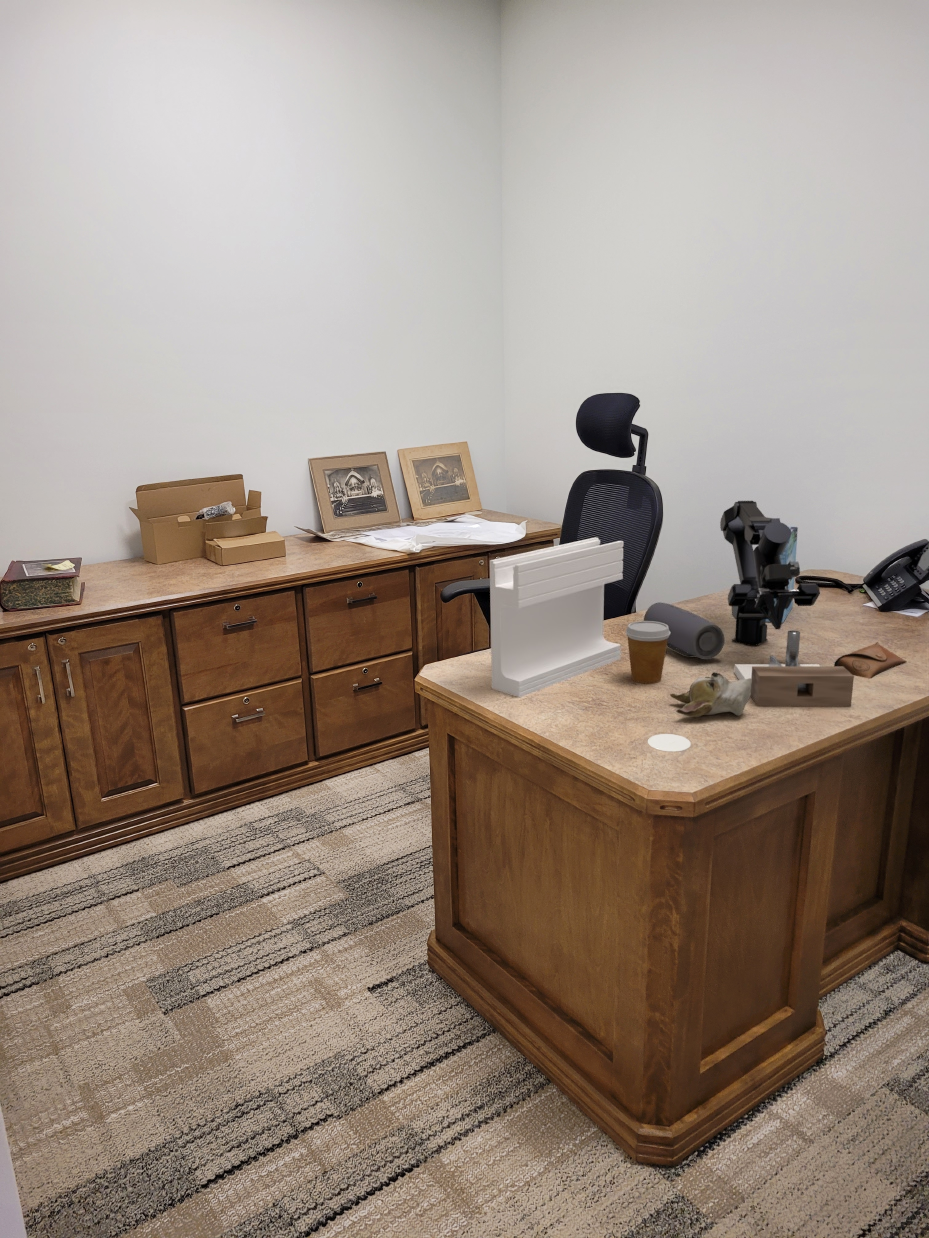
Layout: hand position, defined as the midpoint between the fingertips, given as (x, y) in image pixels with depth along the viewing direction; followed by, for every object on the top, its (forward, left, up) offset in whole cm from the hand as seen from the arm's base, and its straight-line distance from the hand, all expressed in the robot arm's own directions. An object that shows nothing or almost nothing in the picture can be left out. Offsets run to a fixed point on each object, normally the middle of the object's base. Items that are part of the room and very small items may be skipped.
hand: (778, 628), depth 190 cm
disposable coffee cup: (-19, -22, -10) cm, 31 cm away
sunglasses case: (+14, +17, -11) cm, 25 cm away
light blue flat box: (-21, +47, -10) cm, 52 cm away
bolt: (+9, -11, -8) cm, 16 cm away
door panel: (+4, -5, -10) cm, 12 cm away
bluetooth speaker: (-24, +1, -10) cm, 26 cm away
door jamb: (+12, -14, -10) cm, 21 cm away
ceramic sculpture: (+2, -31, -10) cm, 33 cm away
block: (-36, -31, -10) cm, 49 cm away
